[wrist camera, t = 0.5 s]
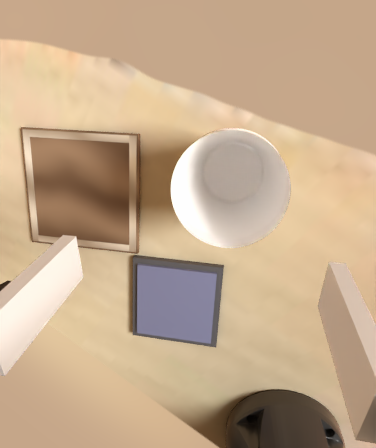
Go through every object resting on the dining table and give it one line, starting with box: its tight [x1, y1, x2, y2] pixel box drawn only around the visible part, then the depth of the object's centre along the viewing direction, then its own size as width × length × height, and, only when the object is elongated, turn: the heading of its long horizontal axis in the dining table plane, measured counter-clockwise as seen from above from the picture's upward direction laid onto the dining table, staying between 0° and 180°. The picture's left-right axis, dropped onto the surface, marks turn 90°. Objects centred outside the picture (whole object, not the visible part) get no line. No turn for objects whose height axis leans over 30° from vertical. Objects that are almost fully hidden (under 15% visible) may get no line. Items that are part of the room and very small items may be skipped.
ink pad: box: [133, 255, 224, 347], centre depth 39 cm, size 11×11×1 cm
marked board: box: [21, 127, 140, 254], centre depth 37 cm, size 14×14×1 cm
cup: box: [171, 128, 291, 248], centre depth 28 cm, size 9×9×12 cm
